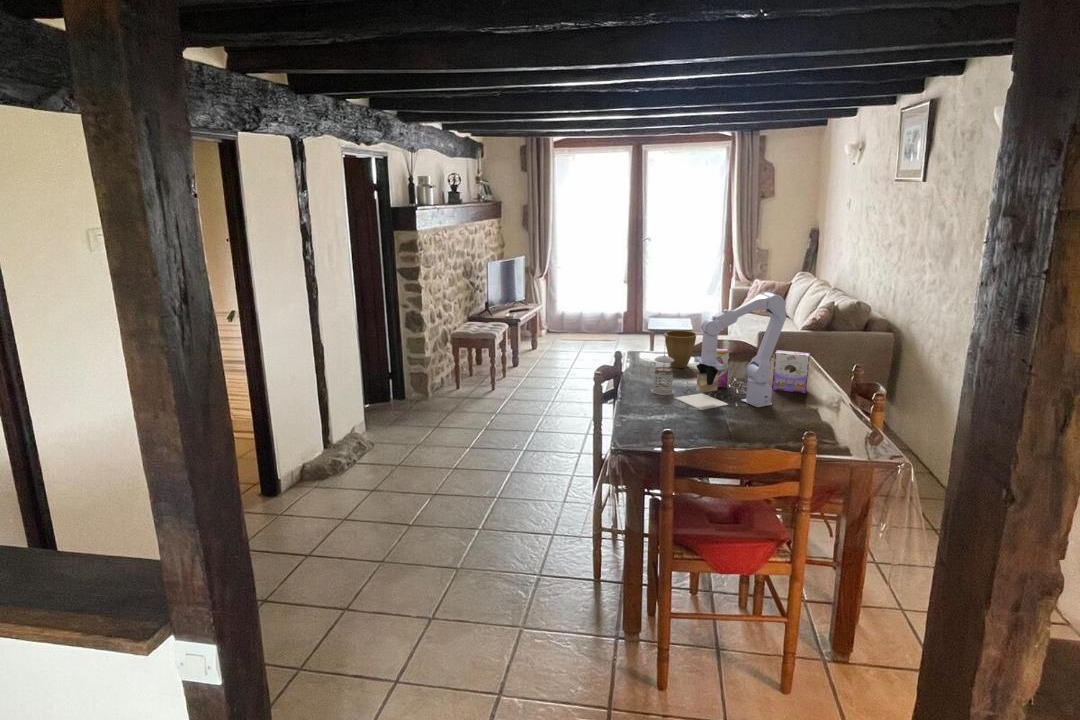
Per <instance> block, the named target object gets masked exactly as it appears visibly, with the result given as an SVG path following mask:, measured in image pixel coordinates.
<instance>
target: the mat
mask: <svg viewBox="0 0 1080 720" xmlns="http://www.w3.org/2000/svg"><path fill="white" fill-rule="evenodd" d="M674 399H675V400H677V401H679V402H681V403H684V404H686V405H688V406H690V407H693V408H695V409H697V410H700V411H703V410H708V409H713V408H714V409H715V408H719V407H725V406H729V403H727V402H725V401H722V400H719V399H717V398H715V397H712V396H710V395H707V394H704V393H701V392H700V393H695V394H690V395H682V396H677V397H674Z"/></svg>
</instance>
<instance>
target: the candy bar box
mask: <svg viewBox="0 0 1080 720" xmlns="http://www.w3.org/2000/svg"><path fill="white" fill-rule="evenodd" d="M730 355H731V351H730V349H728V348H717V355H716V361H717V362H719V363H720V364H722V365H723V370H719V371H718V373H719V374H718V386H717V387H726V388H727V386H728V374H729V364H730Z"/></svg>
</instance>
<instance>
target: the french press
mask: <svg viewBox="0 0 1080 720" xmlns="http://www.w3.org/2000/svg"><path fill="white" fill-rule="evenodd" d="M666 336H668V334H667V333H665V332H664V333H663V337H664V343H666ZM663 352H664V353H663V354H664V355H660V356H657V357H656V358H654V361H652V362H651V363H650V364H649V365H648V367H647V370H646V371H647V376H648V377H649V378H650V379H651V380H652V388H651V389H650V392H651V393H652V394H655V395H659V396H660V395H661V396H662V395H663V396H665V395H666V396H667V395H669V396H670V395H673V394H674V393H675V391H674V389H673V380H674V379H673V378H674V372H672V371H673V368H671V367H667V366H658V367H655V369H654V370H655V371H654V373H653V376H652V375H651V374H650V372H649V369H650V366H651V365H652V364H653V366H656V363H660V364H661V363H662V364H671V363H672V362H674V359H672V358H671V357H668V355H666V350H664V351H663Z"/></svg>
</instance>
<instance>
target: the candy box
mask: <svg viewBox="0 0 1080 720" xmlns="http://www.w3.org/2000/svg"><path fill="white" fill-rule="evenodd" d="M773 361H774V362H773V363H774V364H773V374H772V383H771V384H772V386H771V388H772V391H773V390H774V391H783V392H791V393H800V394H801V393H802V394H806V393H807V390H808V389H807V388H808V381H809V372H810V361H811V353H810V352H801V351H789V350H782V349H781V350H779V349H778V350H777V349H776V351H775V352H774V360H773Z"/></svg>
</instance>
